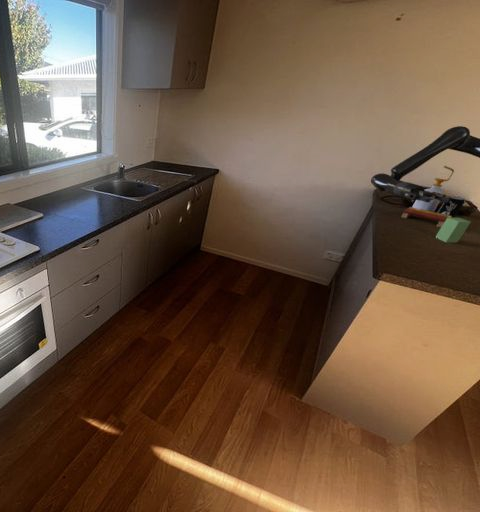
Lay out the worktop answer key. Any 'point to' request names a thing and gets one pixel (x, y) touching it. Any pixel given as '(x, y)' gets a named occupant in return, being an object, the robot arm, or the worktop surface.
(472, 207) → the bolt
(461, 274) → the worktop surface
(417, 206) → the soap bottle
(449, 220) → the green bar
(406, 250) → the worktop surface
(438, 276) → the worktop surface
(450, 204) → the beverage can
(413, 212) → the rod rack
